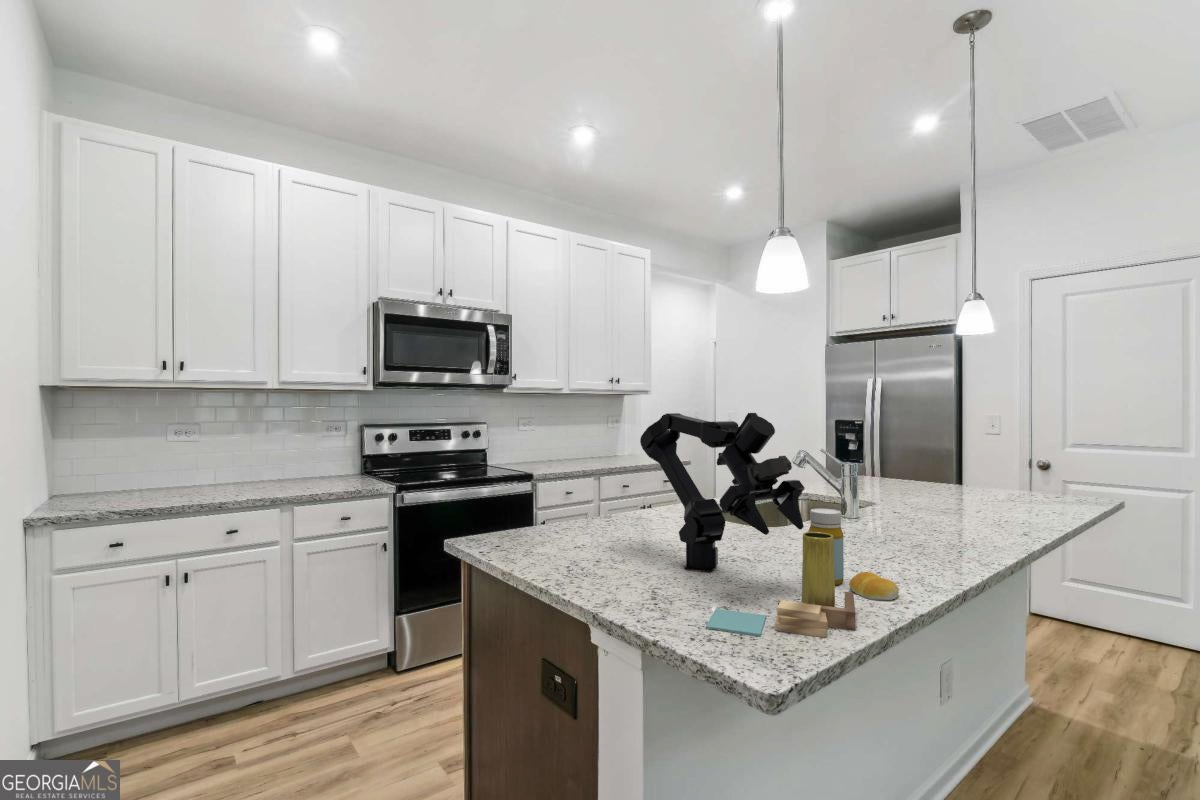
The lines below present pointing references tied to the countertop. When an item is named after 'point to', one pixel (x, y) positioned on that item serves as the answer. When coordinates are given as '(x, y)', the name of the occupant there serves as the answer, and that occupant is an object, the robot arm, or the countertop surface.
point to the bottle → (831, 524)
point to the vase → (818, 569)
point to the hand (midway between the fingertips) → (785, 530)
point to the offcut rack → (814, 617)
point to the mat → (737, 622)
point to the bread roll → (873, 586)
